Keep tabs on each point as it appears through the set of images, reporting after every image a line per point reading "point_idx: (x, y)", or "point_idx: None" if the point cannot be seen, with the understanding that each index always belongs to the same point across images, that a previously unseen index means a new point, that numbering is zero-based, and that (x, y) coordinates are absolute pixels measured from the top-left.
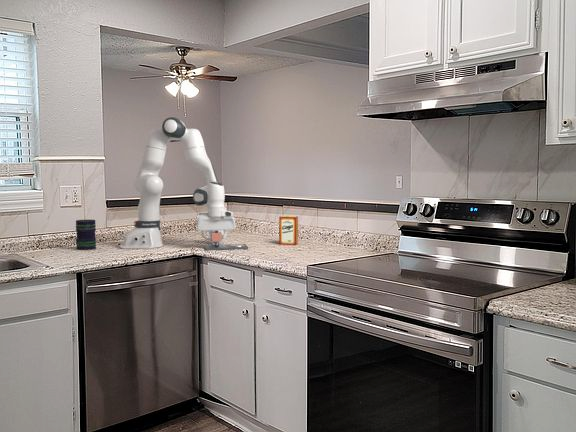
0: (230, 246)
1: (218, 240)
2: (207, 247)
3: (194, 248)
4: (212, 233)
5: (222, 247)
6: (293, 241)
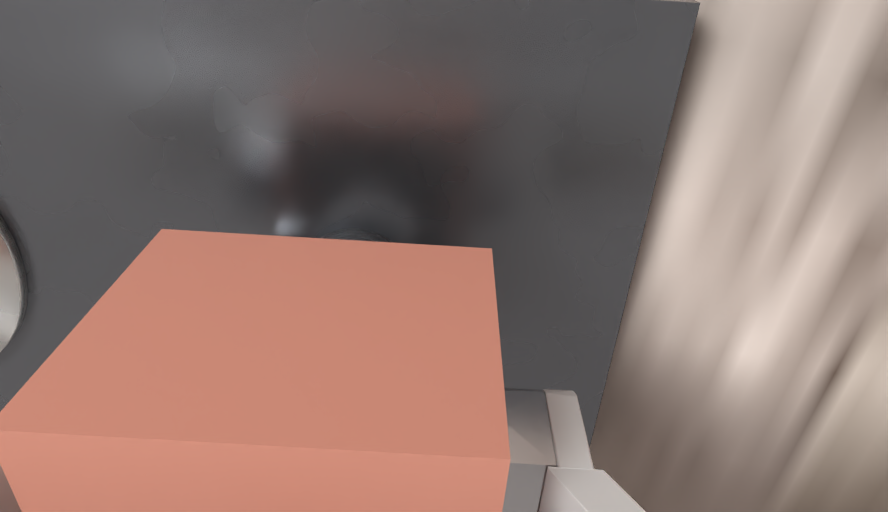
0: (3, 168)
1: (269, 246)
2: (616, 128)
3: (805, 358)
4: (478, 454)
5: (204, 33)
6: None
